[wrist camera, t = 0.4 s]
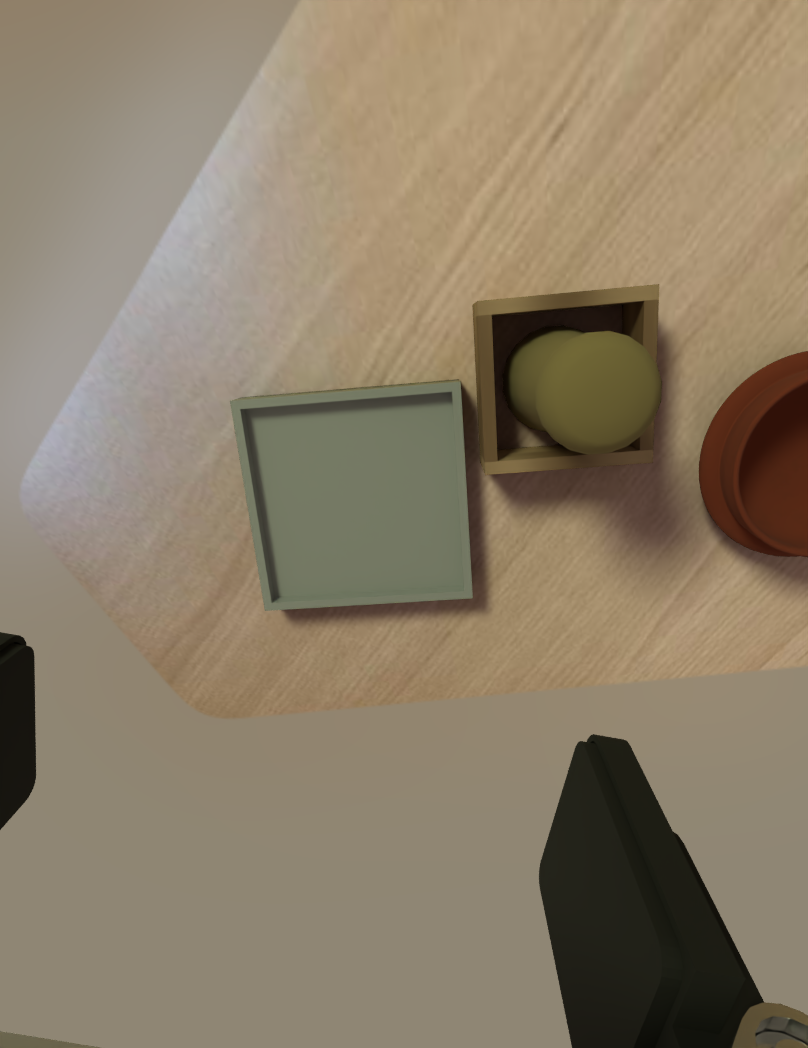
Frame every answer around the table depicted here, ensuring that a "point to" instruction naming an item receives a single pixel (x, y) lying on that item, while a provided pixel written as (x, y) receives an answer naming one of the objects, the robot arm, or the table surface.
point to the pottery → (761, 460)
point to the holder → (636, 324)
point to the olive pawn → (583, 387)
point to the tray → (357, 494)
